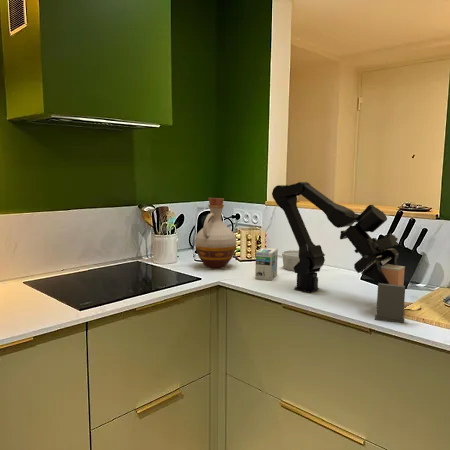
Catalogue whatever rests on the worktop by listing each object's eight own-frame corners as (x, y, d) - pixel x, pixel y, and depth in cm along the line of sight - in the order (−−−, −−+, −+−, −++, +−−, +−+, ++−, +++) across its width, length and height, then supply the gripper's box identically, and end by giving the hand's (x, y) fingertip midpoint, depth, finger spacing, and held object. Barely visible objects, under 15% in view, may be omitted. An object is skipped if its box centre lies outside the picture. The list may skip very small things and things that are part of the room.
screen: (374, 319, 117) (376, 284, 116) (375, 316, 120) (377, 282, 119) (404, 323, 114) (406, 288, 113) (404, 320, 117) (406, 285, 116)
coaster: (392, 306, 129) (393, 305, 128) (400, 301, 134) (400, 300, 134) (416, 312, 124) (416, 310, 124) (424, 306, 129) (424, 305, 129)
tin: (378, 310, 125) (381, 266, 124) (385, 306, 129) (387, 264, 128) (395, 314, 122) (398, 269, 120) (402, 310, 126) (404, 266, 124)
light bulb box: (271, 280, 158) (272, 252, 157) (254, 279, 160) (255, 251, 159) (277, 274, 168) (278, 248, 167) (261, 273, 170) (261, 247, 169)
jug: (223, 274, 167) (224, 199, 164) (185, 269, 175) (185, 197, 171) (242, 265, 185) (243, 197, 181) (206, 261, 192) (207, 195, 189)
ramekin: (311, 273, 171) (311, 256, 170) (279, 271, 175) (279, 254, 174) (313, 266, 184) (314, 251, 183) (283, 264, 187) (284, 249, 187)
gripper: (365, 227, 119) (402, 272, 113) (394, 223, 132) (428, 262, 126) (340, 251, 126) (373, 294, 119) (369, 244, 139) (400, 283, 132)
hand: (395, 282), depth 124 cm, fingers open, 9 cm apart
